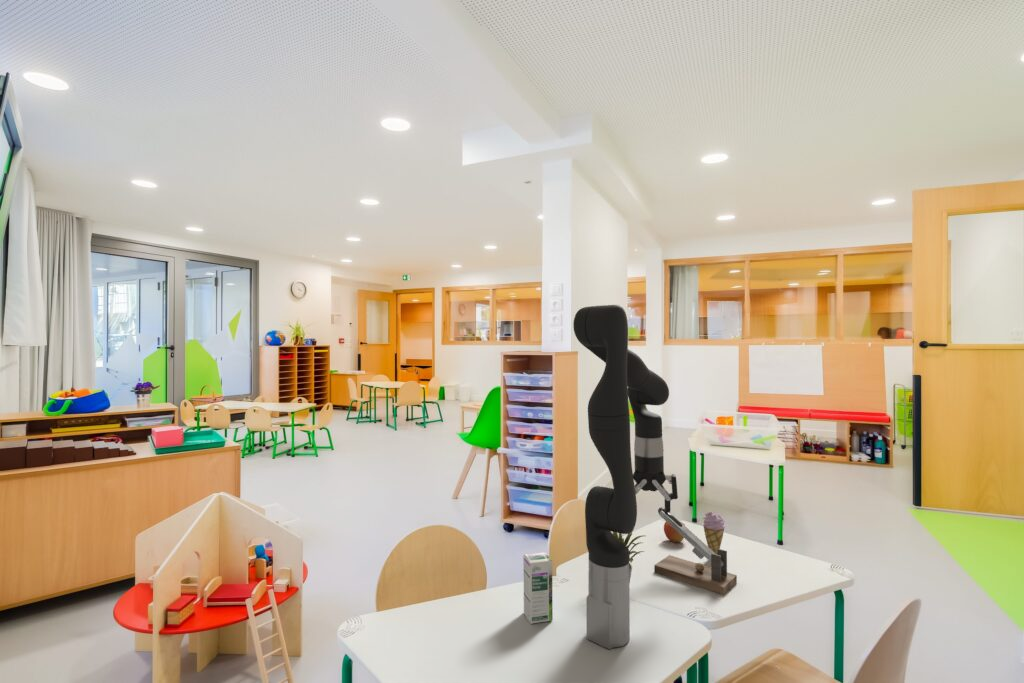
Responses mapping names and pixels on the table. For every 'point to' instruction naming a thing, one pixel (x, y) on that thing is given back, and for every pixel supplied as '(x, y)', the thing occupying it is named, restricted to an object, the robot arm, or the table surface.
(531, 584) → the syrup box
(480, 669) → the table surface
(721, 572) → the press base
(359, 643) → the table surface
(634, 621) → the table surface
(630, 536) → the house plant
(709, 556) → the lever
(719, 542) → the ice cream cone
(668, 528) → the apple
